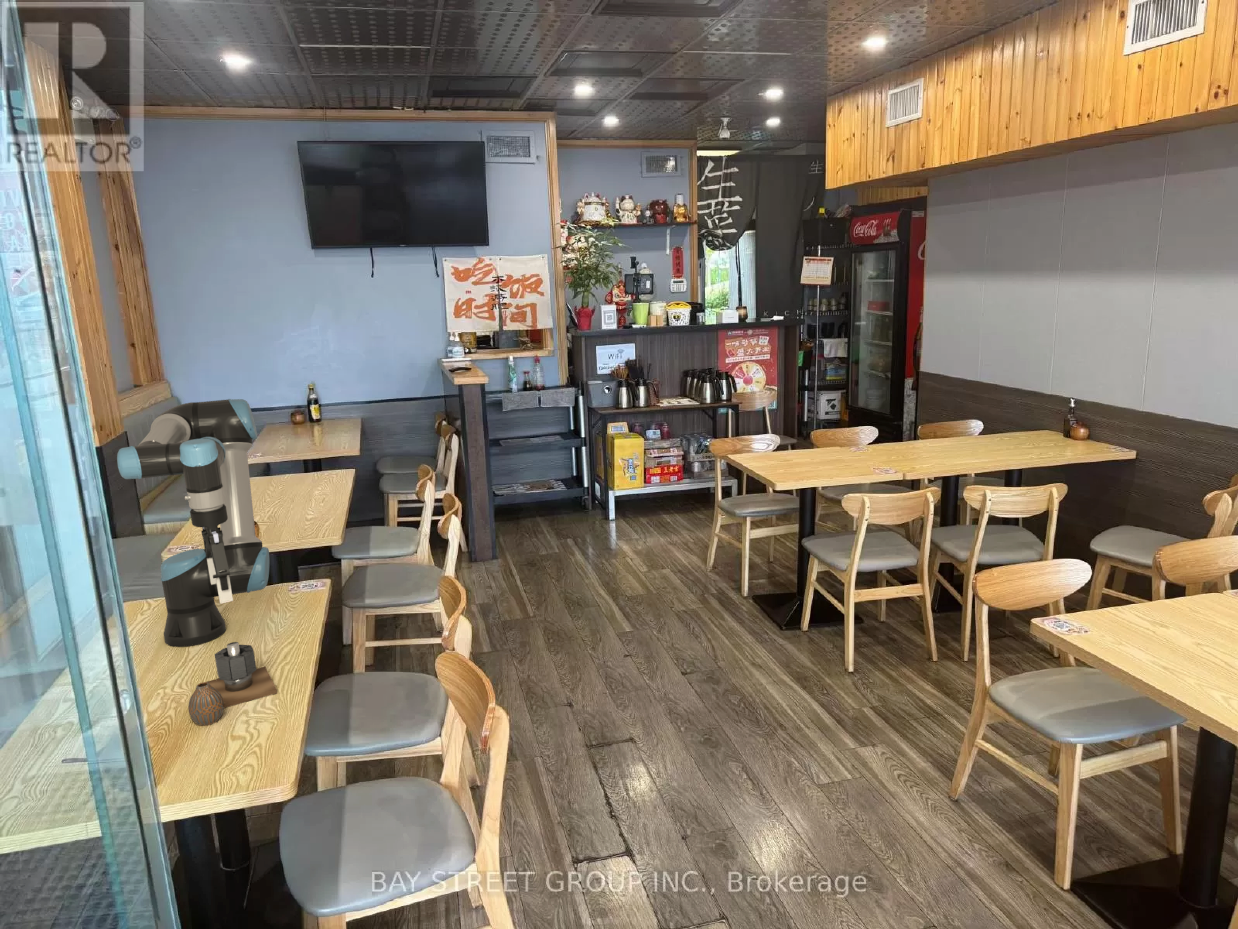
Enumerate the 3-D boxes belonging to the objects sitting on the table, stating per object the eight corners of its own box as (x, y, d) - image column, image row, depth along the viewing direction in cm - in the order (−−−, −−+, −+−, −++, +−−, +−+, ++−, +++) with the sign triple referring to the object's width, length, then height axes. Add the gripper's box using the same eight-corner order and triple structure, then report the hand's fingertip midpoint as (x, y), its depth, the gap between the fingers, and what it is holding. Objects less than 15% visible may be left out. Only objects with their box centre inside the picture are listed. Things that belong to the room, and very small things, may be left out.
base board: (203, 687, 199) (202, 682, 198) (265, 670, 206) (265, 666, 205) (211, 711, 187) (210, 706, 187) (276, 693, 194) (276, 688, 194)
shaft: (223, 684, 197) (216, 643, 195) (250, 677, 200) (244, 636, 198) (227, 694, 192) (220, 652, 190) (254, 686, 195) (248, 645, 193)
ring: (216, 670, 196) (213, 650, 195) (252, 661, 201) (249, 641, 200) (220, 683, 190) (217, 663, 189) (258, 673, 194) (255, 653, 193)
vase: (216, 709, 188) (211, 674, 186) (231, 719, 183) (225, 682, 181) (185, 722, 183) (179, 686, 181) (200, 732, 178) (193, 695, 176)
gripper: (182, 496, 199) (196, 579, 205) (197, 524, 179) (212, 614, 185) (216, 491, 203) (229, 572, 209) (234, 517, 183) (248, 606, 189)
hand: (221, 592), depth 197 cm, fingers open, 13 cm apart
